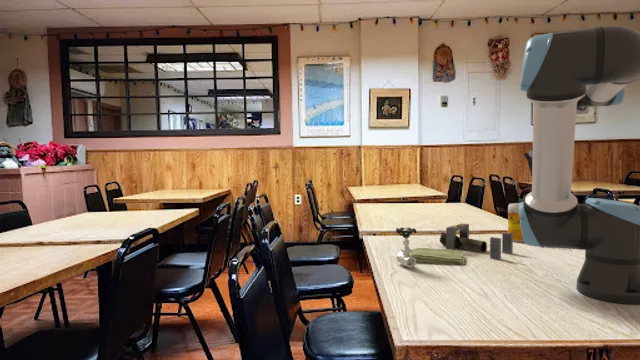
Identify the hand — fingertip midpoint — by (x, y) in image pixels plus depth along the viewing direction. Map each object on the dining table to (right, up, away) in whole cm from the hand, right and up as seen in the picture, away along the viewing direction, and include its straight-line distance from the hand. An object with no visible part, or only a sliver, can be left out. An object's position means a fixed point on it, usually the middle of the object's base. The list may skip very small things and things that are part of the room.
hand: (545, 203), depth 133 cm
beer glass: (+5, -17, +30) cm, 35 cm away
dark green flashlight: (-22, -19, +19) cm, 34 cm away
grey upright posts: (-17, -18, +13) cm, 28 cm away
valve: (-47, -20, -4) cm, 51 cm away
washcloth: (-35, -20, +4) cm, 40 cm away
